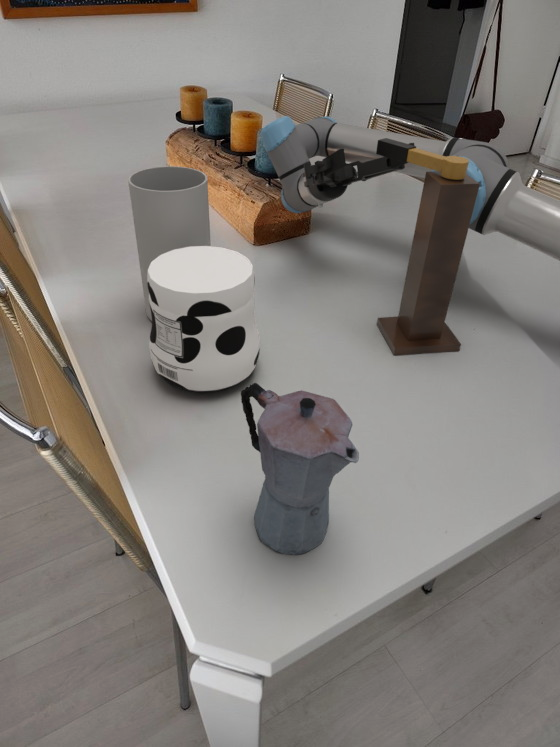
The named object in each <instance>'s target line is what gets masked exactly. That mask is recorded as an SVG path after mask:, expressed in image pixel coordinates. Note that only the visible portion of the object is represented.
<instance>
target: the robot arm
mask: <svg viewBox="0 0 560 747" xmlns="http://www.w3.org/2000/svg"><path fill="white" fill-rule="evenodd" d="M259 133H260V138H261V141H262V143H263V146H264V150H265V152H266V153H267V155H268V157H269V160H270V162H271V164H272V166H273V168H274V171H275V172H276V174H277V177H278V179H279V182H280V184H281V186H282V189H281V191H280V201H281V203H282V205H283V207H284V208H285V209H286V210H287V211H288V212H291V213H293V214H301V213H306V212H309V211H311V210H314V209H316V208H321V209H322V208H323V206H324V204H326V203H328V202H332V201H333V200H336V199H338V198H341V197H342V196H343V195H344V194H345V192H346V191H347V188H348V186H351V185H352V184H354V183H358V182H366V181H369V180H371V179H373V178H377V177H380V176H384V175H386V174H389V173H390V174H391V173H397V174H398V173H399V174H403V175H407V176H412V177H416V178H421V179H425V175H426V172H428V171H435V170H432V169H429V168H426V167H422V166H419V165H416V164H413V163H409V162H407V163H403V162H400V161H397V160H394V159H390V158H387V157H384V156H381V155H378V154H376V151H377V143H378V140H380V139H384V138H388V139H392V140H396V141H399V142H403V143H406V144H410V145H413V146H416V148H417V149H421V150H424V151H428V152H431V153H435V154H438V155H442V156H445V157H447V156H459V157H464V158H466V159H468V160H469V164H468V168H467V172H466V174H468V175H469V176H470V177H472V178H473V179H474V180H476V181H477V182H478V183H480V186H479V190H478V194H477V197H476V201H475V205H474V209H473V213H472V217H471V221H470V225H469V229H468V230H471V231H474V232H476V233H477V234H480V235H482V236H486V235H489V234H492V233H499V234H501V235H504V236H506V237H508V238H510V239H513V240H514V241H516V242H519V243H520V244H523V245H524V246H527V247H530V248H531V249H533V250H536V251H537V252H540V253H542V254H545V255H547V256H549V257H551V258H553V259H554V260H555V259H556V260H557V261H560V200H559V199H556V198H554V197H552V196H550V195H548V194H545V193H543V192H541V191H538V190H535V189H534V188H531V187H529V186H527V185H525V184H524V183H523V181H522V178H521V174H520V172H518V171H517V170H514V169H512V168H511V167H510V162H509V160H508V158H507V155H506V153H505V152H503V150H502V149H501V148H499V147H498V146H496V145H495V144H493V143H490V142H486V141H481V140H480V141H479V140H473V139H465V138H460V137H451V138H449V139H447V140H446V141H443V140H437V139H432V138H426V137H421V136H415V135H409V134H404V133H397V132H391V131H387V130H380V129H375V128H369V127H363V126H358V125H353V124H348V123H347V124H346V123H341V122H338V121H336V120H335V118H333V117H331V116H326V115H325V116H317V117H314V118H312V119H310V120H307V121H304V122H302V123H298V124H296V123H294V121H293V120H292V118H291V117H290V116H288V115H285V116H281V117H278V118H277V119H275V120H273V121H271V122H269V123H268V124H266V125H265V126H264V127H263V128H262V129H261V130H260V132H259ZM317 156H318V157H323V158H322V160H316V161H314V164H312V163H311V161H310V159H312V158H315V157H317Z"/></svg>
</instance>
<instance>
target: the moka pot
mask: <svg viewBox="0 0 560 747" xmlns="http://www.w3.org/2000/svg"><path fill="white" fill-rule="evenodd" d="M240 397H241V399H240V400H241V404H242V411H243V413H244V415H245V421H246V423H247V426H248V432H249V434H250V440H251V446H252V447H253V448H254V449H255V450H256V451H258V452H259V454H260V463H261V470H262V473H263V474H264V475H265V476H264V480H263V482H262V487H261V491H260V494H259V497H258V501H257V505H256V508H255V511H254V515H253V522H254V527H255V530H256V534H257V536H258V538H259V539H260V541H262V543H263V544H265V546H268V547H269V548H271V550H273V551H275V552H277V553H281V554H284V555H295V556H296V555H302V554H306V553H308V552H310V551H313V550H314V549H316V548H317V547H318V546H319V545H321V544H322V543H323V542H324V539H325V537H326V534H327V531H328V528H329V524H330V487H331V484H332V482H333V479H334V477H335V476H336V475H337V474H339V473H340V472H342V470H343V469H344V468H346V467H347V466H348V465H349V464H350V463H354V464H356V463H358V462H359V460H360V452H359V450H358V449H357V447H356V446H355V445H354V443H353V442H352V441H351V439H350V438H349V436H350V433H351V431H352V428H353V421H352V419H351V417H349V415H348V414H347V413H346V412H345V410H344V409H343V408H342V407H341V406H340V404H339V402H337V401H336V399H334V398H333V397H332V398H330V397H328V396H324V395H321V394H317V393H313V392H311V391H310V392H309V391H305V390H297V391H294V392H289V393H286V394H283V395H278V394H277V393H276V392H274V391H273V390H271V389H268V390H266V389H265V388H263V387H262V386H261V385H259V383H256V382H253V383H252V384H249V386H245V388H244V389H242V390H240ZM251 398H253V399H254V400H255V401H256V402H257V404H258V405H259V406H260V407H261V408H263V409H264V410H263V411H262V412H261V415H260V417H259V418H258V421H257V423H256V421H255V418H254V415H255V414H254V411H253V405H252V402H251Z"/></svg>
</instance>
